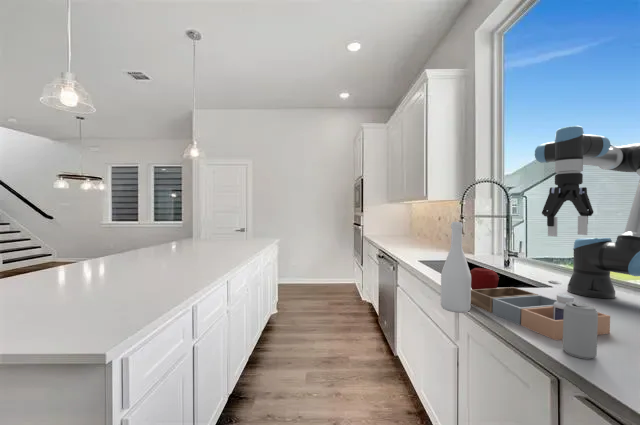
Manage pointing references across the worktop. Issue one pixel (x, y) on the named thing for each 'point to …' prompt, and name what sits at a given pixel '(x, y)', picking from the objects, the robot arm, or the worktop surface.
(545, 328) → the terracotta bin
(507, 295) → the walnut bin
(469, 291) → the wine bottle
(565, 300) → the pill bottle
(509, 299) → the slate bin
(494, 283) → the apple
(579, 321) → the beverage can
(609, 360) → the worktop surface
